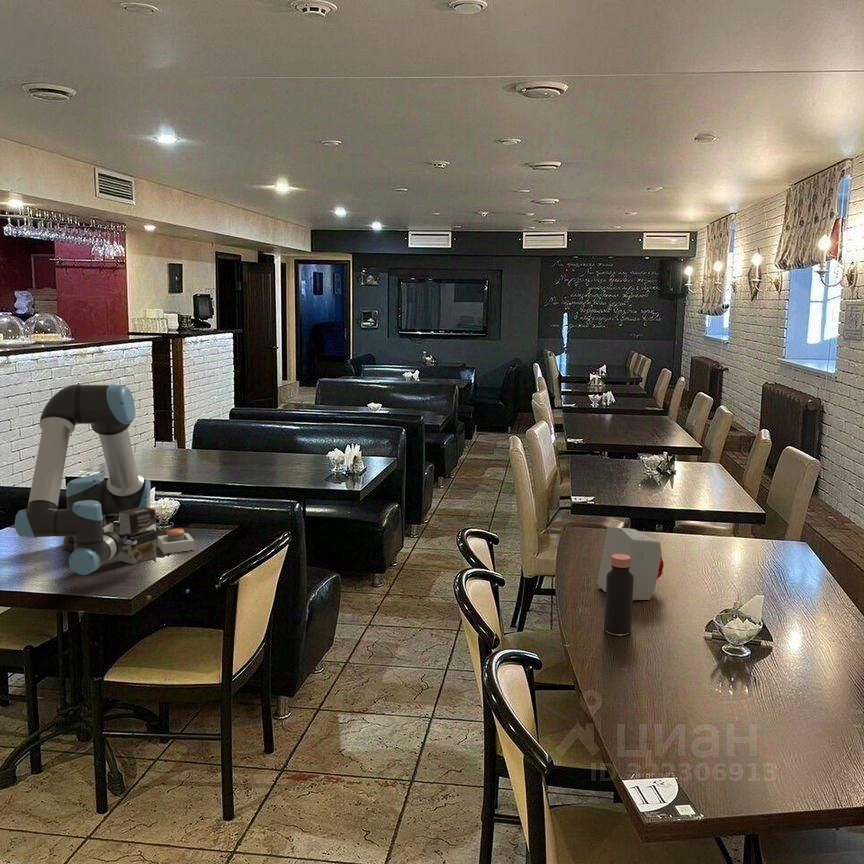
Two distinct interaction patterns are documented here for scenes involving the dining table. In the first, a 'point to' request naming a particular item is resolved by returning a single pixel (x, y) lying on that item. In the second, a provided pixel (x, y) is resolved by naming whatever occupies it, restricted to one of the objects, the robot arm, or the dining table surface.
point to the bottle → (619, 595)
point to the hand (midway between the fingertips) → (133, 527)
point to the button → (175, 535)
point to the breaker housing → (175, 544)
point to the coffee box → (137, 523)
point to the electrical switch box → (633, 559)
